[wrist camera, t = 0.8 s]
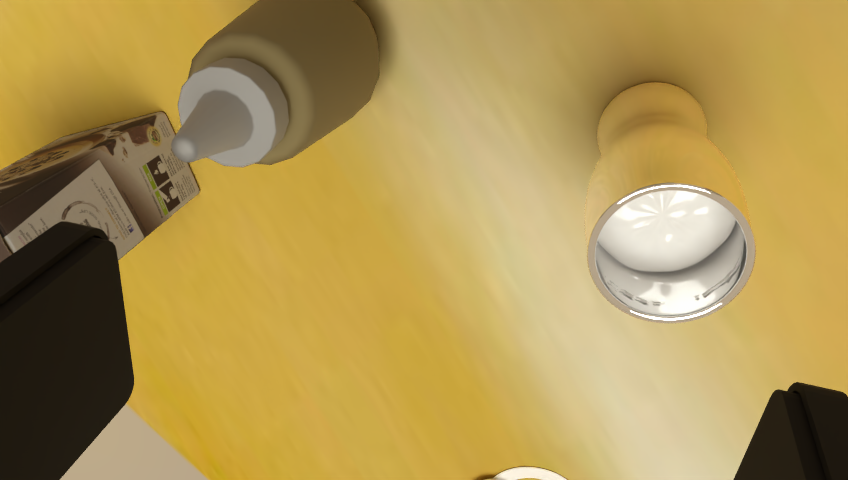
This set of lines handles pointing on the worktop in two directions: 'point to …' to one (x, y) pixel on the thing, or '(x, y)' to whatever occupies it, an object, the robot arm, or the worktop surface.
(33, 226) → the coffee box
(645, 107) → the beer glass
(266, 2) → the squeeze bottle
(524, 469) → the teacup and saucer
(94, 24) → the worktop surface
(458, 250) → the worktop surface
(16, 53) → the worktop surface
